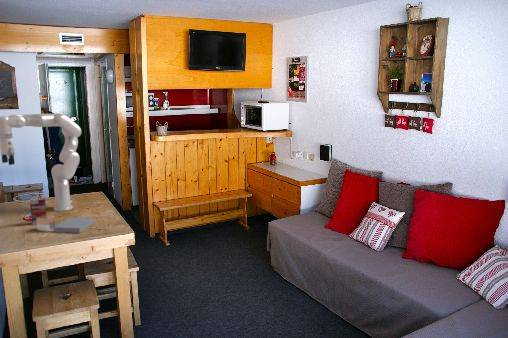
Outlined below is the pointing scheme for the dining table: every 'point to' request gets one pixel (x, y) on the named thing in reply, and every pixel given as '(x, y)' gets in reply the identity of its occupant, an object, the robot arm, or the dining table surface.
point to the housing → (45, 223)
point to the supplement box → (37, 208)
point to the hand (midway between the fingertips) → (8, 163)
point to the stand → (73, 225)
